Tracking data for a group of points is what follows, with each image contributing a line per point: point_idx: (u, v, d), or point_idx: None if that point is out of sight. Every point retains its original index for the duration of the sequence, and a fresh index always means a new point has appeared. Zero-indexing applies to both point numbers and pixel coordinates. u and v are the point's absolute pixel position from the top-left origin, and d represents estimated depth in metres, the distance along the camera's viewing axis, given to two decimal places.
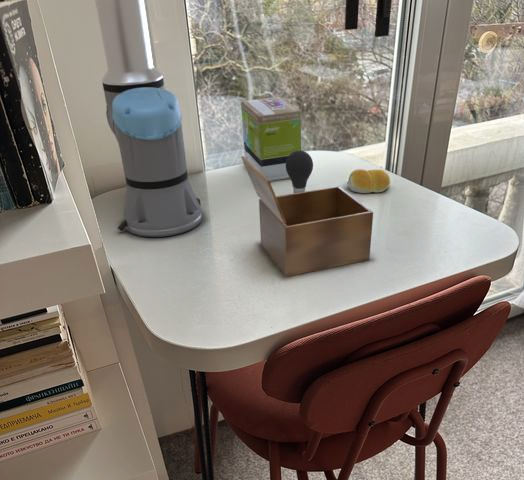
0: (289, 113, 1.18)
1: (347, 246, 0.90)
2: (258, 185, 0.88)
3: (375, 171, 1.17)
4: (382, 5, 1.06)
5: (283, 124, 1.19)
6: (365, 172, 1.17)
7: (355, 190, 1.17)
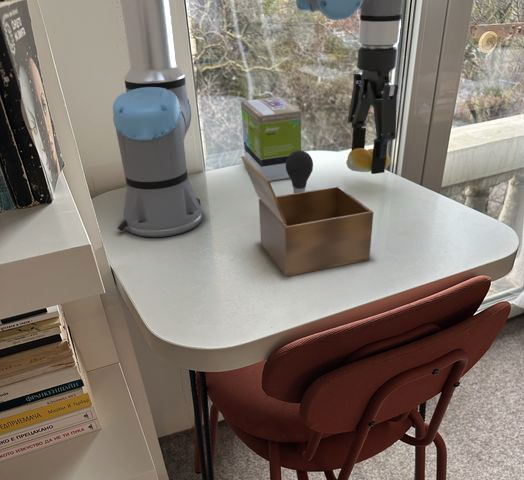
0: (289, 114, 1.18)
1: (347, 246, 0.90)
2: (258, 185, 0.88)
3: None
4: (378, 147, 1.10)
5: (283, 124, 1.19)
6: (365, 151, 1.14)
7: (354, 169, 1.15)
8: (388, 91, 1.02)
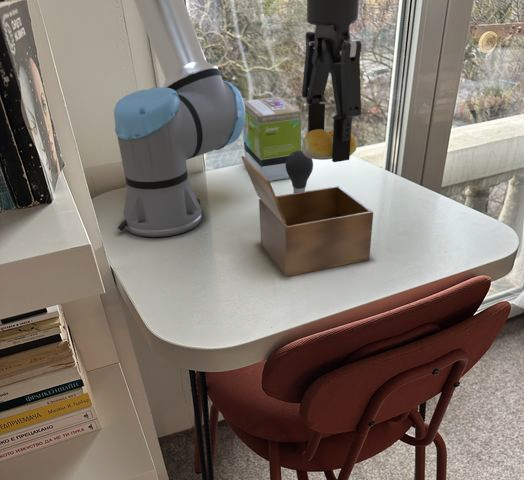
0: (289, 114, 1.18)
1: (347, 246, 0.90)
2: (258, 185, 0.88)
3: None
4: (340, 127, 0.84)
5: (283, 124, 1.19)
6: (324, 132, 0.89)
7: (311, 156, 0.89)
8: (348, 50, 0.77)
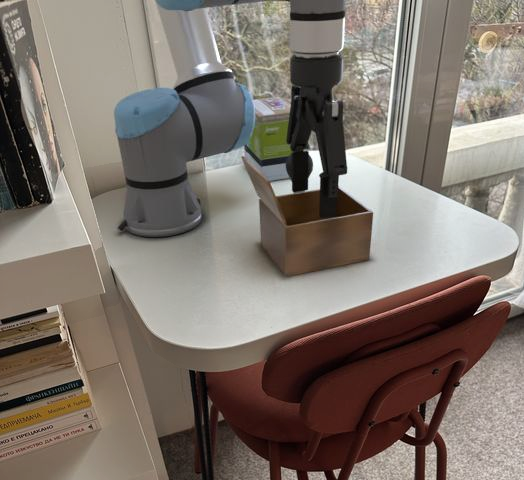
0: (289, 114, 1.18)
1: (347, 246, 0.90)
2: (258, 185, 0.88)
3: None
4: (327, 184, 0.82)
5: (283, 124, 1.19)
6: None
7: None
8: (330, 110, 0.76)
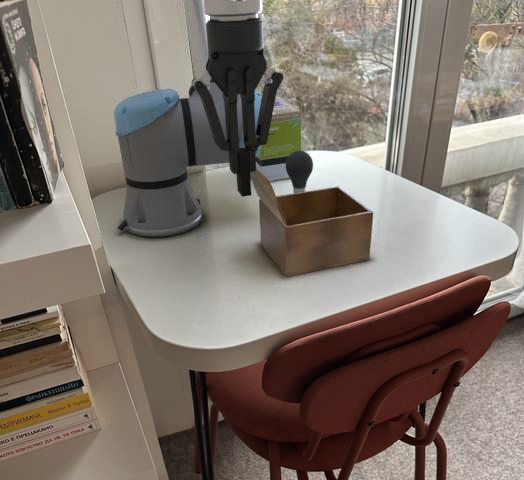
0: (289, 114, 1.18)
1: (347, 246, 0.90)
2: (258, 185, 0.88)
3: None
4: None
5: (283, 124, 1.19)
6: None
7: None
8: (194, 88, 0.76)
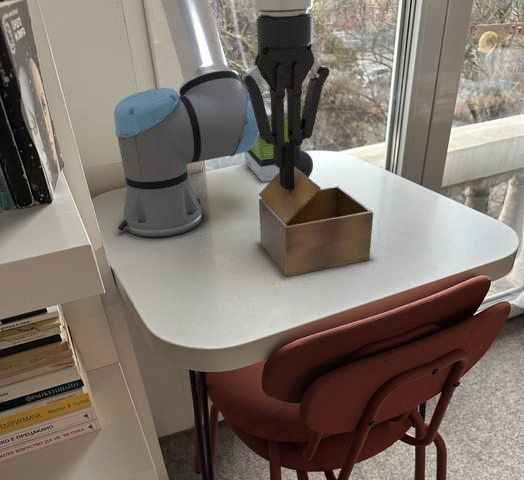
0: None
1: (347, 246, 0.90)
2: None
3: None
4: None
5: None
6: None
7: None
8: (243, 83, 0.77)
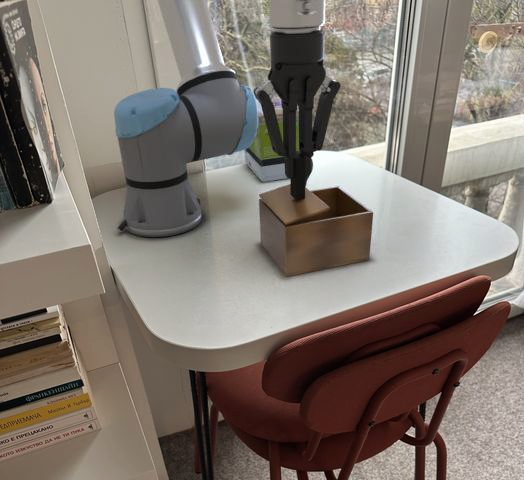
0: None
1: (347, 246, 0.90)
2: (290, 197, 0.90)
3: None
4: None
5: None
6: None
7: None
8: (256, 97, 0.79)
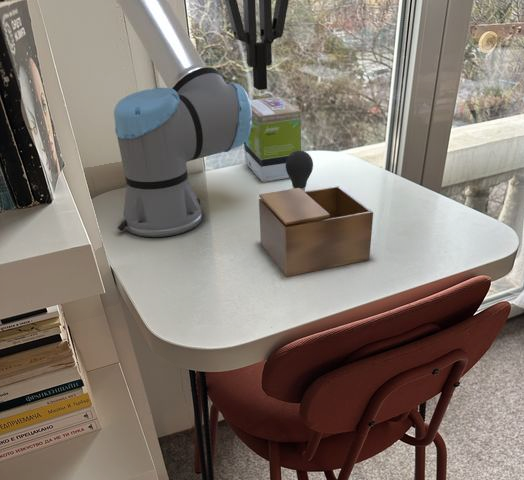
0: (289, 114, 1.18)
1: (347, 246, 0.90)
2: (290, 200, 0.91)
3: None
4: None
5: (283, 124, 1.19)
6: None
7: None
8: None
